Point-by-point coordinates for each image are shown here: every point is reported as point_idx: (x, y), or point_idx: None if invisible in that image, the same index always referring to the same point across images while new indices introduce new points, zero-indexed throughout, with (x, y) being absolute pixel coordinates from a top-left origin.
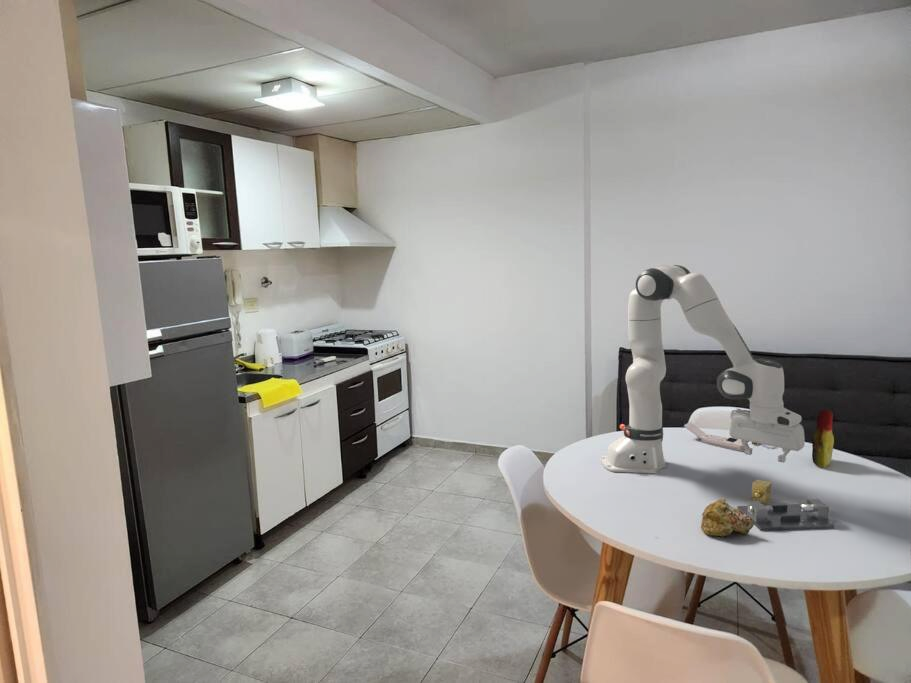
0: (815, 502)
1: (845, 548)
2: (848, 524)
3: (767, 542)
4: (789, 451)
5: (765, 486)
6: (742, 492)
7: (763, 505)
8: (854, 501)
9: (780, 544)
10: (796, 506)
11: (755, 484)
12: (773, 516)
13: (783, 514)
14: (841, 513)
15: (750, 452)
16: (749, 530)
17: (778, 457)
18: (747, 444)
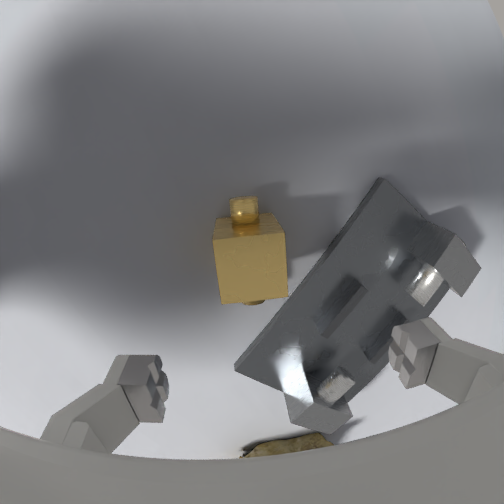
0: (454, 270)
1: (473, 330)
2: (477, 210)
3: (359, 424)
4: (497, 362)
5: (283, 295)
6: (162, 233)
7: (290, 310)
8: (441, 33)
9: (380, 412)
10: (373, 228)
11: (236, 300)
12: (343, 350)
13: (361, 318)
14: (455, 147)
15: (160, 389)
16: (325, 440)
17: (404, 381)
18: (99, 415)
